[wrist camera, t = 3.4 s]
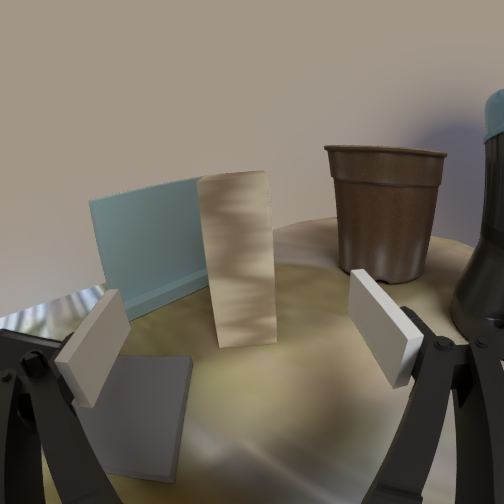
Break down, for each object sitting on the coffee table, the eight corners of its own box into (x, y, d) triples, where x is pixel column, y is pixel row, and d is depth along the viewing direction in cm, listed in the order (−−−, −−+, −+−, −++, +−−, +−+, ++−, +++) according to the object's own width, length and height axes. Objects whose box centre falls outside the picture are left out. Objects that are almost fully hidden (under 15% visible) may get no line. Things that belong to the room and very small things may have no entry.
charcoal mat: (192, 364, 22) (190, 355, 22) (174, 482, 12) (169, 476, 11) (81, 361, 22) (77, 352, 22) (32, 450, 12) (25, 442, 11)
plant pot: (371, 239, 48) (372, 146, 42) (452, 266, 35) (462, 153, 29) (301, 264, 40) (297, 145, 35) (398, 308, 27) (411, 147, 22)
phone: (-1, 327, 25) (76, 343, 23) (3, 335, 25) (81, 352, 24) (-37, 361, 17) (34, 396, 16) (-32, 369, 18) (40, 405, 16)
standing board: (233, 273, 39) (224, 175, 34) (125, 322, 28) (96, 202, 24) (210, 265, 42) (200, 175, 38) (110, 306, 32) (85, 200, 27)
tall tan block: (271, 312, 29) (262, 170, 24) (277, 343, 24) (269, 175, 20) (221, 316, 29) (205, 175, 24) (219, 347, 24) (196, 181, 19)
